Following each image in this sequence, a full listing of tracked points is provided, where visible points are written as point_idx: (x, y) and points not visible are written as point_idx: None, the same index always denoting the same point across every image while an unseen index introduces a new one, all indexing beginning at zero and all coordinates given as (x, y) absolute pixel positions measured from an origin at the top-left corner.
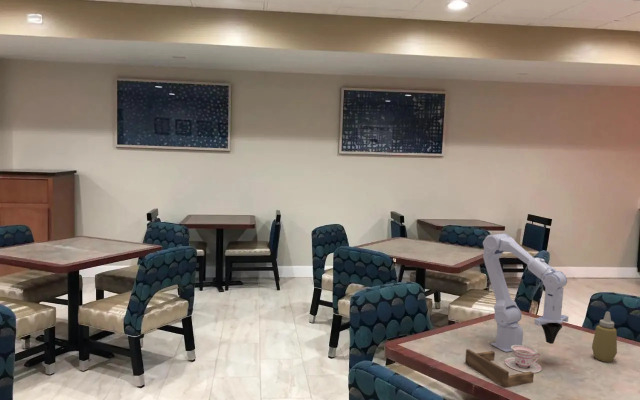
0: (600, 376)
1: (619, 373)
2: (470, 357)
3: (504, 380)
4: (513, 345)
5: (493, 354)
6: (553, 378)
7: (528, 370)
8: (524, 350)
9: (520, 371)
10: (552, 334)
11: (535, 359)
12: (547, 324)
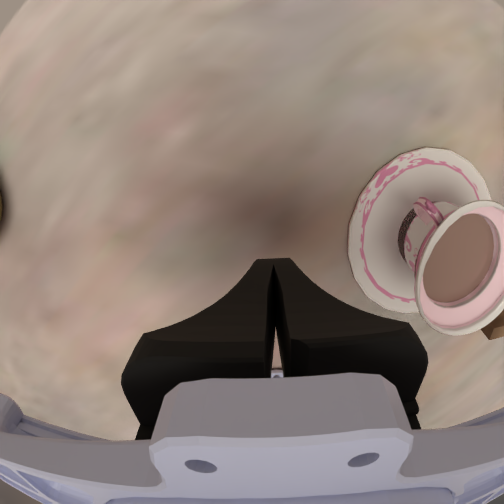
0: (113, 26)
1: (16, 62)
2: None
3: None
4: (471, 331)
5: (494, 321)
6: (402, 68)
7: (448, 183)
8: (426, 294)
9: (485, 188)
10: (321, 294)
11: (418, 209)
12: (416, 424)
